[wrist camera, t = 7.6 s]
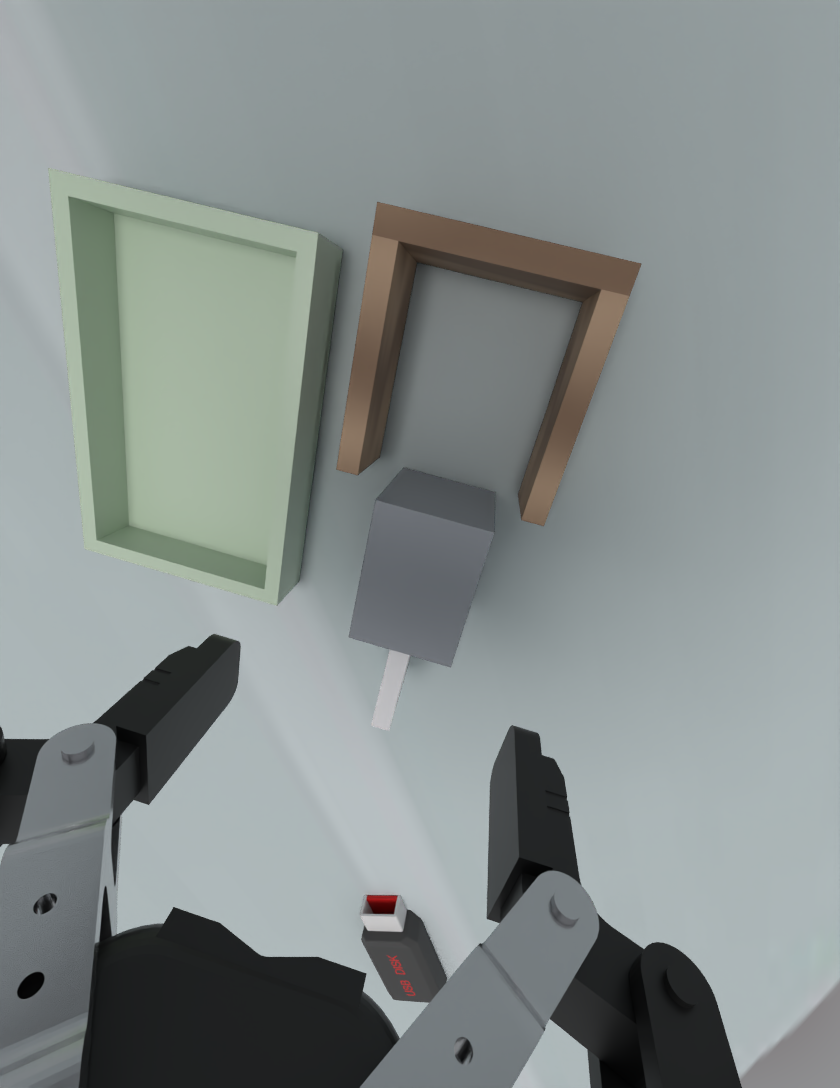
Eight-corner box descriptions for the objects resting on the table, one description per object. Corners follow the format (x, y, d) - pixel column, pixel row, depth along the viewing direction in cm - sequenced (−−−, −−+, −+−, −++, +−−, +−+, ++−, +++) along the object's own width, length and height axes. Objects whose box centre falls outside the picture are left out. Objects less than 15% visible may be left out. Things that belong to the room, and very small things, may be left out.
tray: (107, 192, 21) (48, 167, 18) (342, 249, 20) (318, 232, 17) (125, 530, 28) (84, 548, 25) (299, 581, 27) (276, 605, 25)
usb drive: (396, 970, 43) (389, 1007, 41) (356, 889, 39) (346, 925, 37) (447, 973, 42) (444, 1012, 39) (411, 889, 38) (405, 927, 36)
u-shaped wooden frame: (400, 231, 20) (377, 201, 16) (614, 281, 19) (641, 263, 15) (361, 452, 24) (336, 469, 20) (536, 499, 23) (543, 526, 19)
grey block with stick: (403, 467, 24) (375, 499, 18) (495, 491, 23) (494, 532, 18) (363, 652, 29) (331, 721, 23) (438, 674, 29) (424, 749, 23)
